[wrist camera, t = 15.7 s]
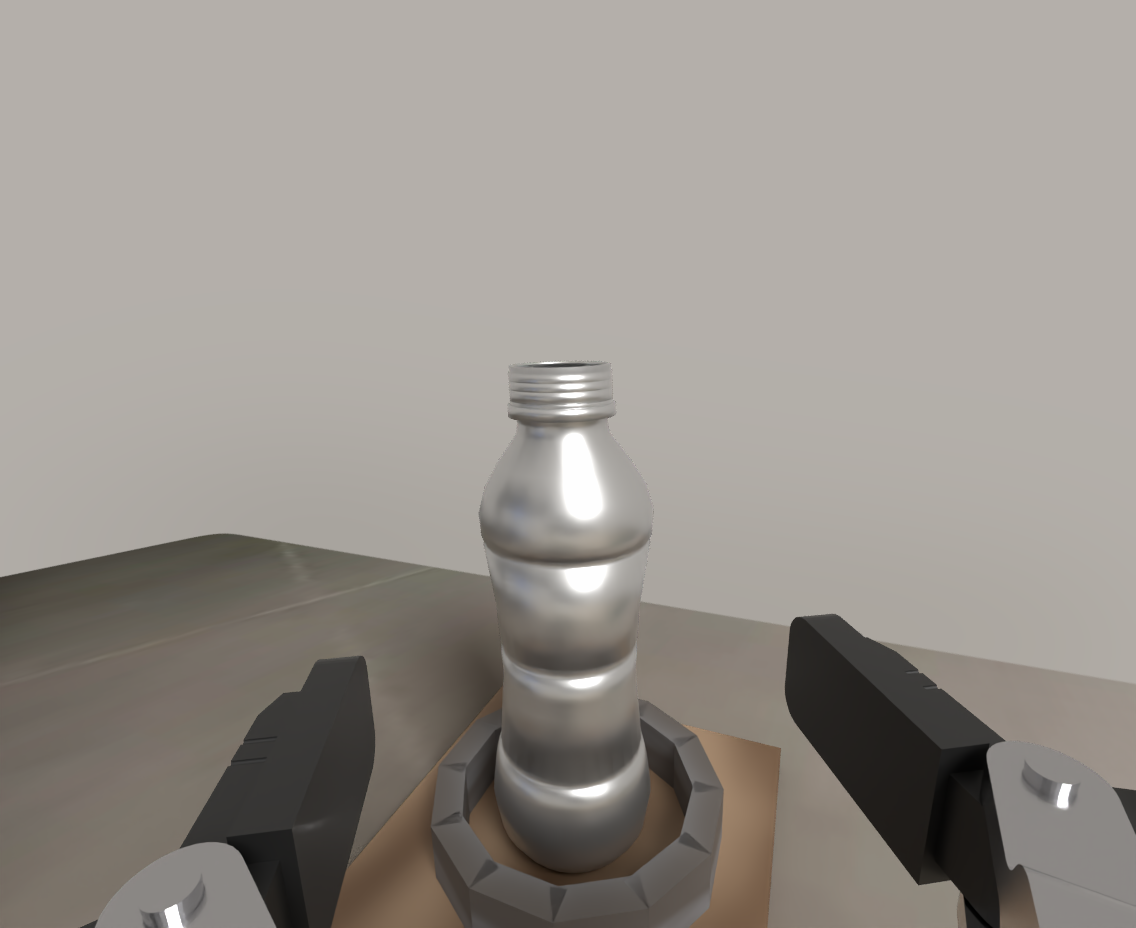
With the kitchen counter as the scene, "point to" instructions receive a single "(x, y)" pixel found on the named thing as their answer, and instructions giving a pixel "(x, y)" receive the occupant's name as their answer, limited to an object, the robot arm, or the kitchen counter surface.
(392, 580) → the kitchen counter surface
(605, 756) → the silver aluminium bottle
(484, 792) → the bottle dock
